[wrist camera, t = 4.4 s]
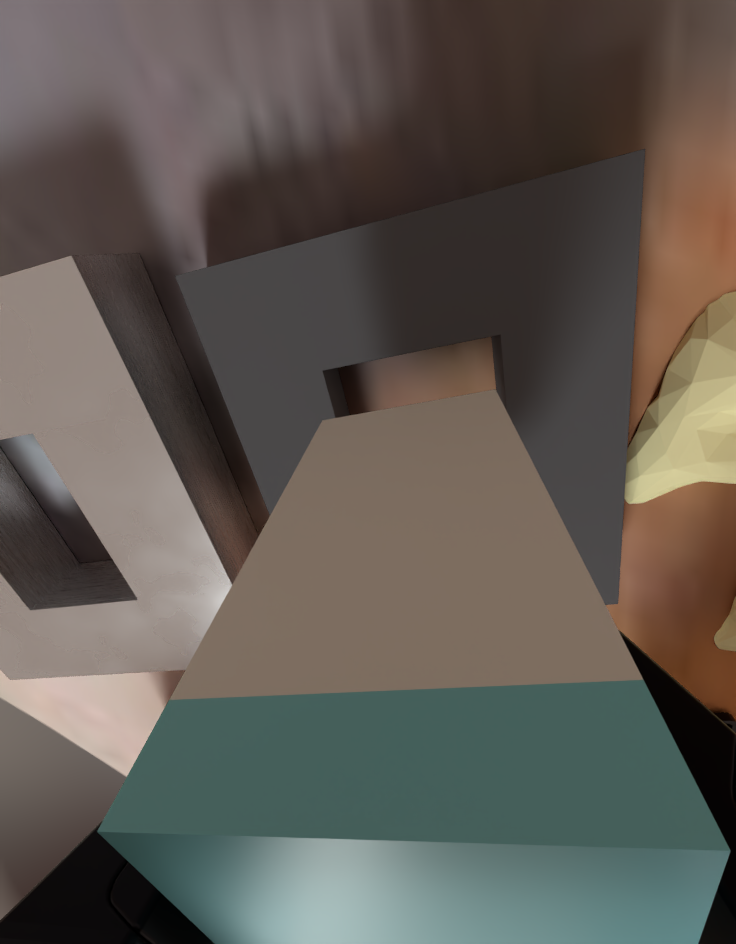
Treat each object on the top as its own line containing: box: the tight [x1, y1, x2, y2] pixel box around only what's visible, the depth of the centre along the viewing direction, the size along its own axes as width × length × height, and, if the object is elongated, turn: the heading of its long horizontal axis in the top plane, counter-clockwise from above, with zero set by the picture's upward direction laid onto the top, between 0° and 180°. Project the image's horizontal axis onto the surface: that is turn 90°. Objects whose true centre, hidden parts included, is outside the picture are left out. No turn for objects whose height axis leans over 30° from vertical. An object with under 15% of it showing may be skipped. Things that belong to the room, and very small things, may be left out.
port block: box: [0, 253, 259, 680], centre depth 17 cm, size 14×16×3 cm
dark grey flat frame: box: [175, 149, 645, 605], centre depth 15 cm, size 12×14×2 cm
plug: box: [97, 389, 730, 944], centre depth 7 cm, size 4×6×8 cm, turn 13°
